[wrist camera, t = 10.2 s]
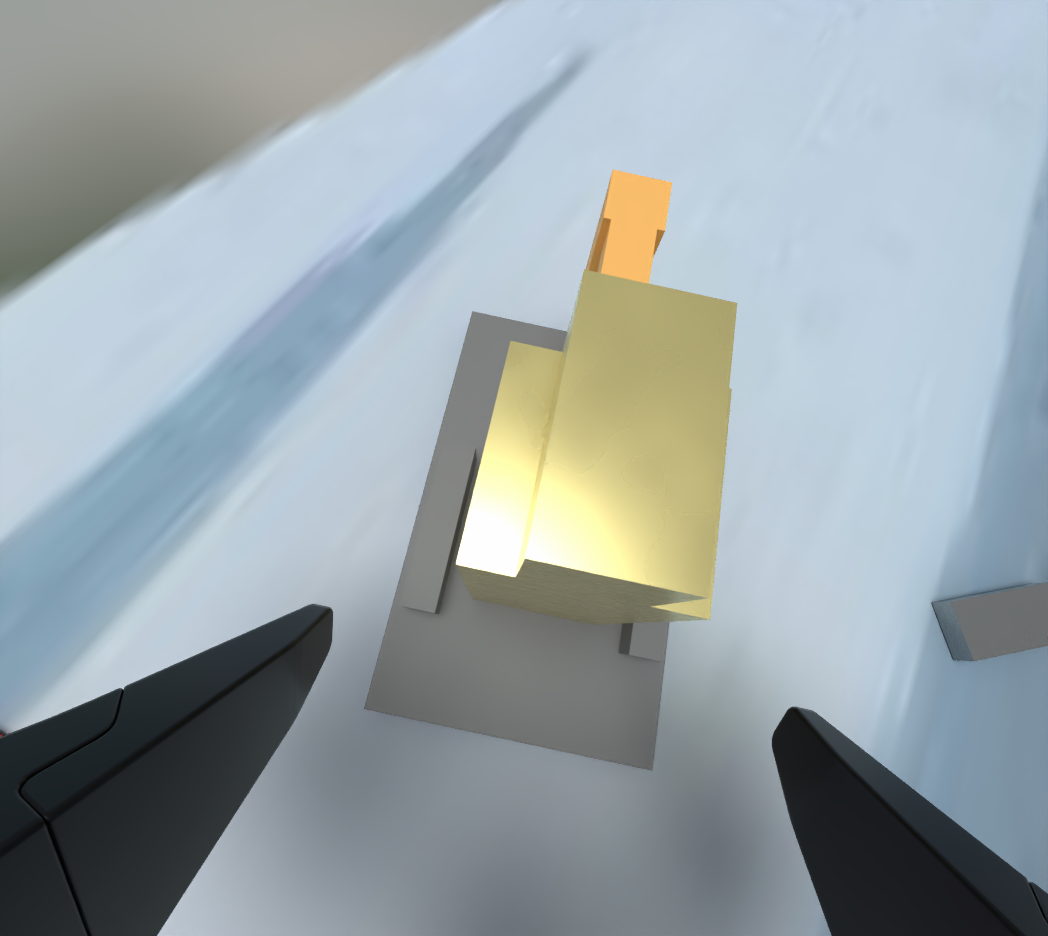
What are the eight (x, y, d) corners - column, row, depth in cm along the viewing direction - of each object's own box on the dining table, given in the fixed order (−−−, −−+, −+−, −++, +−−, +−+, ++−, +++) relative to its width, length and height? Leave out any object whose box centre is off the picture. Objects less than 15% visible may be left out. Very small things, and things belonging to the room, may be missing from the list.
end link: (593, 624, 19) (788, 615, 7) (472, 598, 19) (444, 540, 7) (611, 506, 20) (804, 317, 8) (499, 482, 20) (517, 254, 8)
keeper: (643, 763, 19) (805, 901, 9) (370, 704, 19) (248, 782, 9) (690, 371, 24) (828, 195, 14) (473, 324, 24) (463, 116, 14)
